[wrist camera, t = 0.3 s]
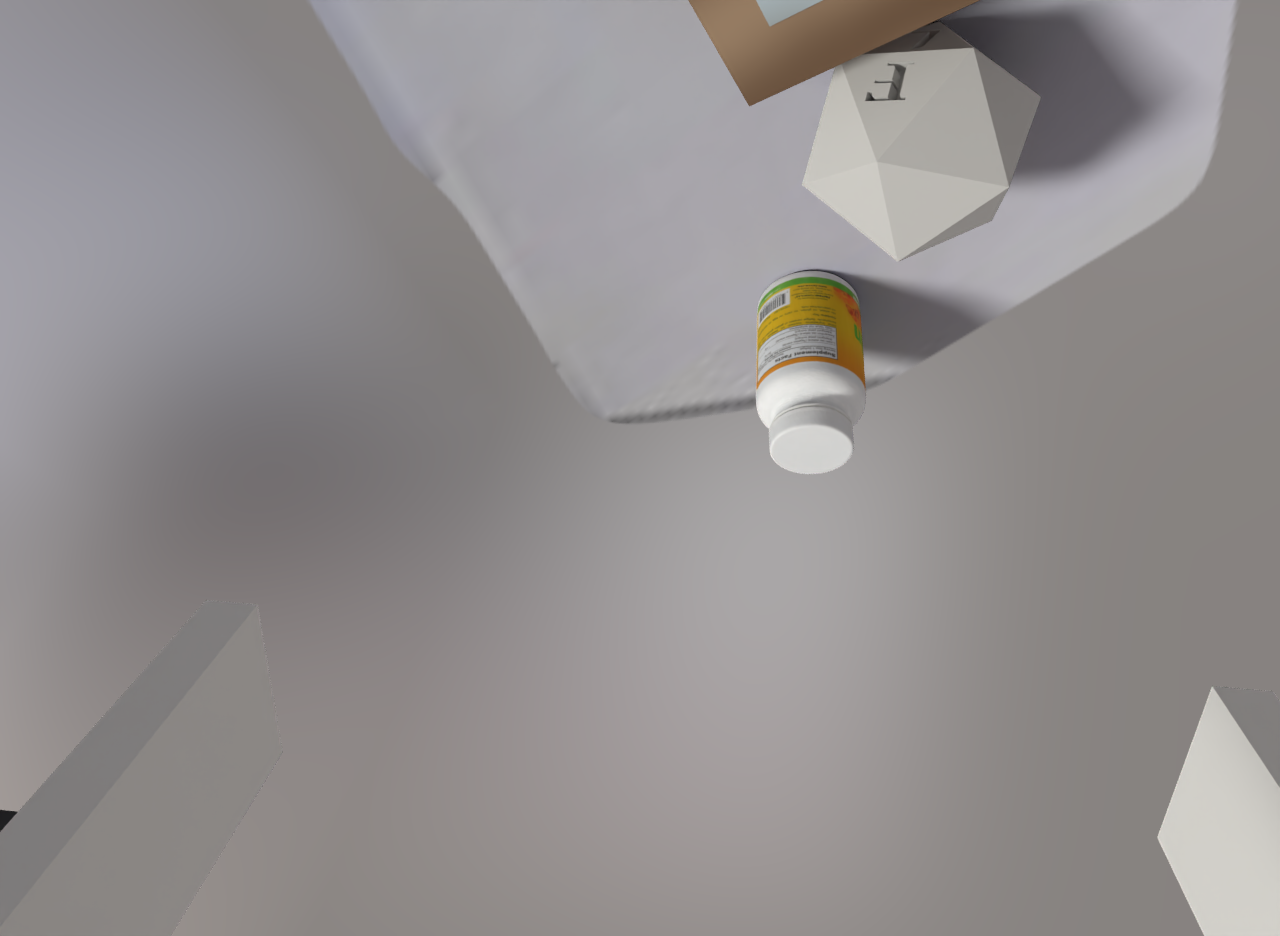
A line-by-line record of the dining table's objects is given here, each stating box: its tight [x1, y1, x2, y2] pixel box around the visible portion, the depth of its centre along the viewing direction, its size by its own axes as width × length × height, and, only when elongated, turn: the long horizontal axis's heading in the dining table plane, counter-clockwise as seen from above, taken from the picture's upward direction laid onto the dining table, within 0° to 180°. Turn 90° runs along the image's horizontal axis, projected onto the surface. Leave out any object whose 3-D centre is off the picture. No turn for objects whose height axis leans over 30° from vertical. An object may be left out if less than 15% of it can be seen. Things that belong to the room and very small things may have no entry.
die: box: [802, 21, 1041, 262], centre depth 39 cm, size 8×9×10 cm
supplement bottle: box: [756, 271, 866, 474], centre depth 50 cm, size 5×5×10 cm
